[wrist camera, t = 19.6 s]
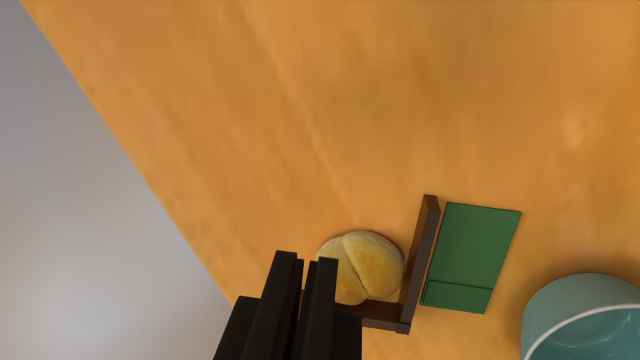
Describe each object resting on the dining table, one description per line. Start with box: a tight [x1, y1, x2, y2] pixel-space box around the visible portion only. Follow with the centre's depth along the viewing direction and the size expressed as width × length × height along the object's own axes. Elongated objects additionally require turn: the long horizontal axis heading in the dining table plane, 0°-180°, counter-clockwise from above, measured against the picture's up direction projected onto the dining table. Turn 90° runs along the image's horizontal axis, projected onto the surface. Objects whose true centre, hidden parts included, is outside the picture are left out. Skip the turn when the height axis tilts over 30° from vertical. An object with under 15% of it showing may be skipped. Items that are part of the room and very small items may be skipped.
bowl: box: [520, 273, 640, 360], centre depth 40 cm, size 16×16×8 cm
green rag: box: [420, 202, 521, 314], centre depth 42 cm, size 7×13×1 cm, turn 174°
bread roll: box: [316, 231, 404, 305], centre depth 42 cm, size 8×9×4 cm
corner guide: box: [299, 195, 441, 335], centre depth 42 cm, size 15×15×3 cm
